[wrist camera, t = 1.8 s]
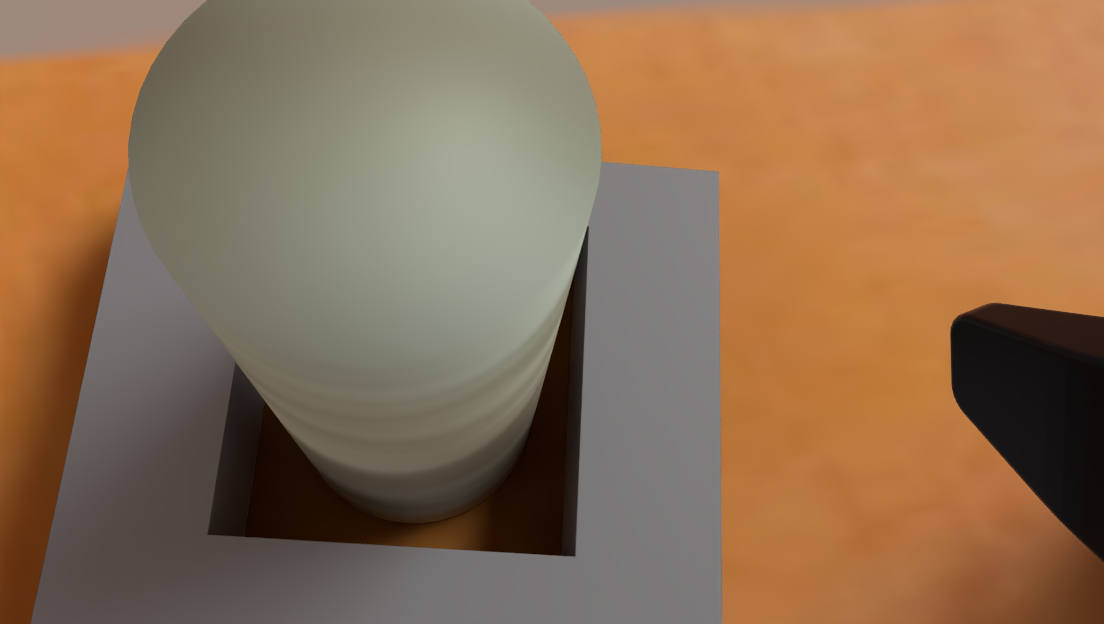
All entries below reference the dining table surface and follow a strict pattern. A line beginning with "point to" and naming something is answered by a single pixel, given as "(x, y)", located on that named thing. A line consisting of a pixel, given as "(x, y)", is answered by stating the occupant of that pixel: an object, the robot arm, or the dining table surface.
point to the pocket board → (396, 571)
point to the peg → (376, 224)
